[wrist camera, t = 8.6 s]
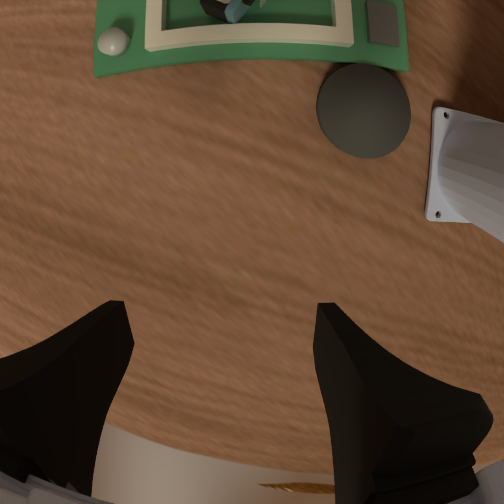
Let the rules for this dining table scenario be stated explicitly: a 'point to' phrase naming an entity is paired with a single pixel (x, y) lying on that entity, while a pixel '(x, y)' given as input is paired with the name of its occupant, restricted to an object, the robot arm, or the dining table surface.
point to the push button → (228, 9)
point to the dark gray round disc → (363, 110)
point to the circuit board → (248, 33)
